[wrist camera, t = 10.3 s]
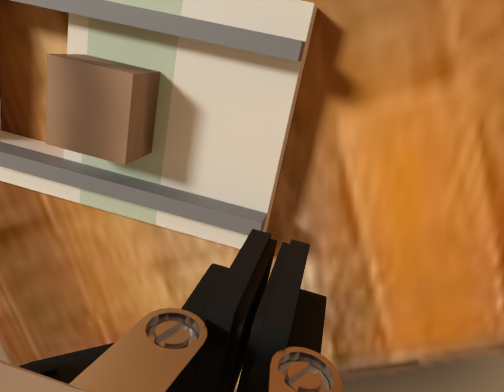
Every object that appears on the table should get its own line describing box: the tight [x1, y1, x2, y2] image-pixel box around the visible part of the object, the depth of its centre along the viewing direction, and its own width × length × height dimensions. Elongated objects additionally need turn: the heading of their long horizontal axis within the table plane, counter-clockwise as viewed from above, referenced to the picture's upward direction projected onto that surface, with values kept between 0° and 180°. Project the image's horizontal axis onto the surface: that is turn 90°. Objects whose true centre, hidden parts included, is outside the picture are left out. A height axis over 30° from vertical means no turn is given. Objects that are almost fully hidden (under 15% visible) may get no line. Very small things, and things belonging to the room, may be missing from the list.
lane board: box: [0, 0, 317, 249], centre depth 31 cm, size 27×18×6 cm, turn 79°
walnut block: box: [46, 54, 161, 165], centre depth 29 cm, size 6×6×4 cm
